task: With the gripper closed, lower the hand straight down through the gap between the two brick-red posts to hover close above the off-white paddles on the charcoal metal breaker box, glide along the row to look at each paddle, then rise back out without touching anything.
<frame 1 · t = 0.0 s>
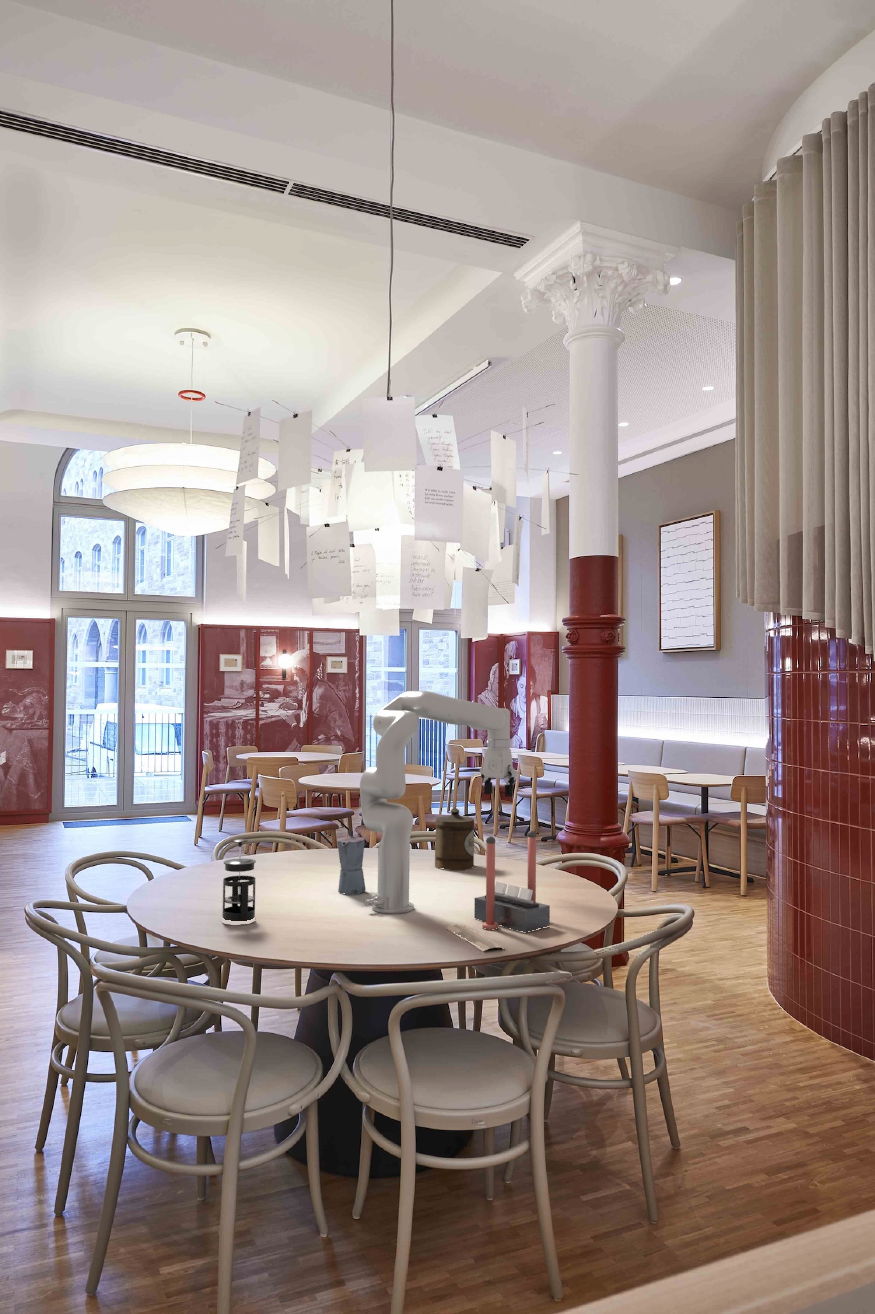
hand: (498, 795, 290), 31 cm above the table, tool pointing down, fingers open, 9 cm apart
wooden container: (454, 867, 325), on the table
breaker box: (511, 922, 244), on the table
far post: (531, 918, 249), on the table
beige flat board: (472, 943, 227), on the table
moka pot: (351, 892, 282), on the table
breaker paddles: (512, 892, 244), point 9 cm above the table, hinge at 20.0°
french press: (239, 922, 242), on the table
near post: (490, 928, 238), on the table
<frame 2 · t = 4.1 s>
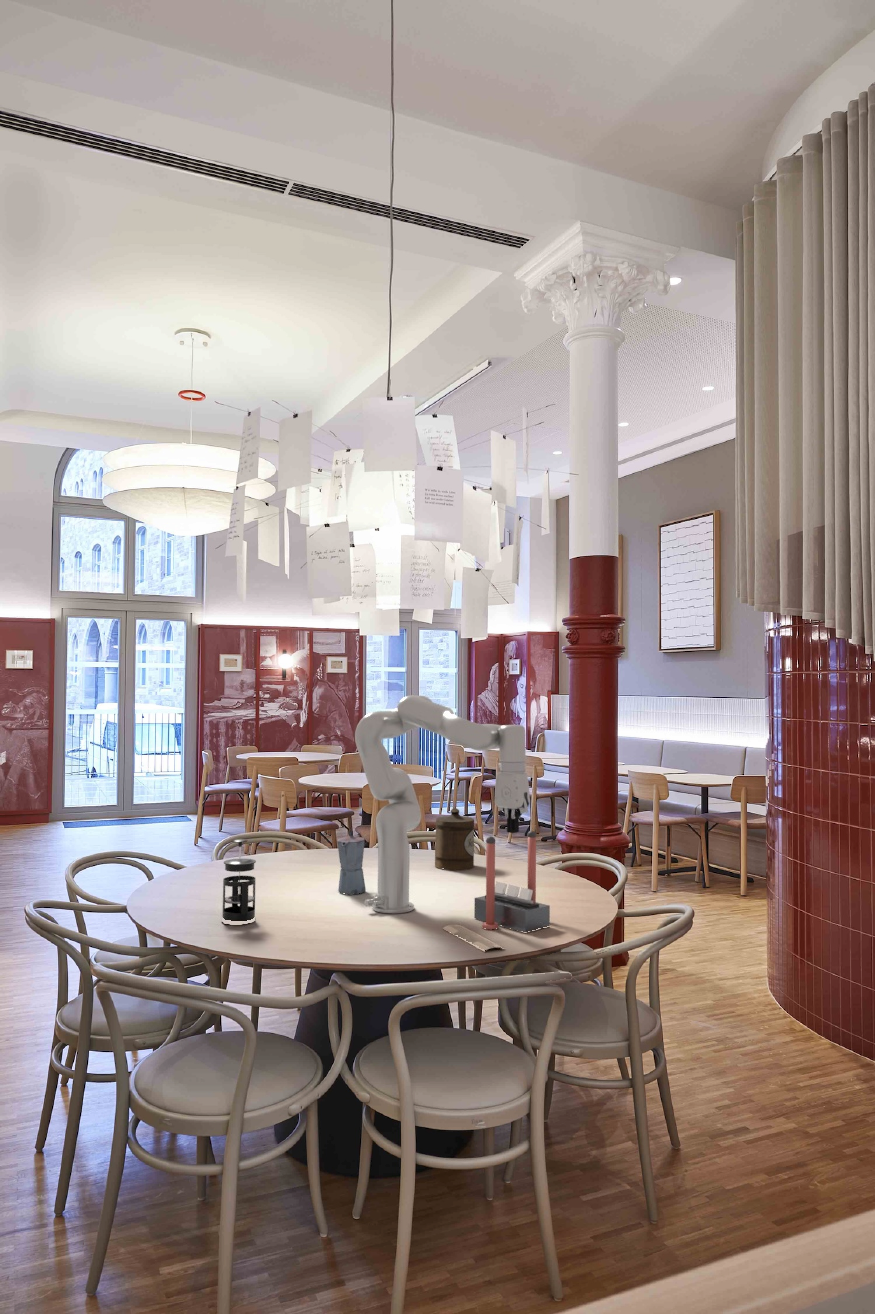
hand: (513, 832, 245), 26 cm above the table, tool pointing down, fingers closed
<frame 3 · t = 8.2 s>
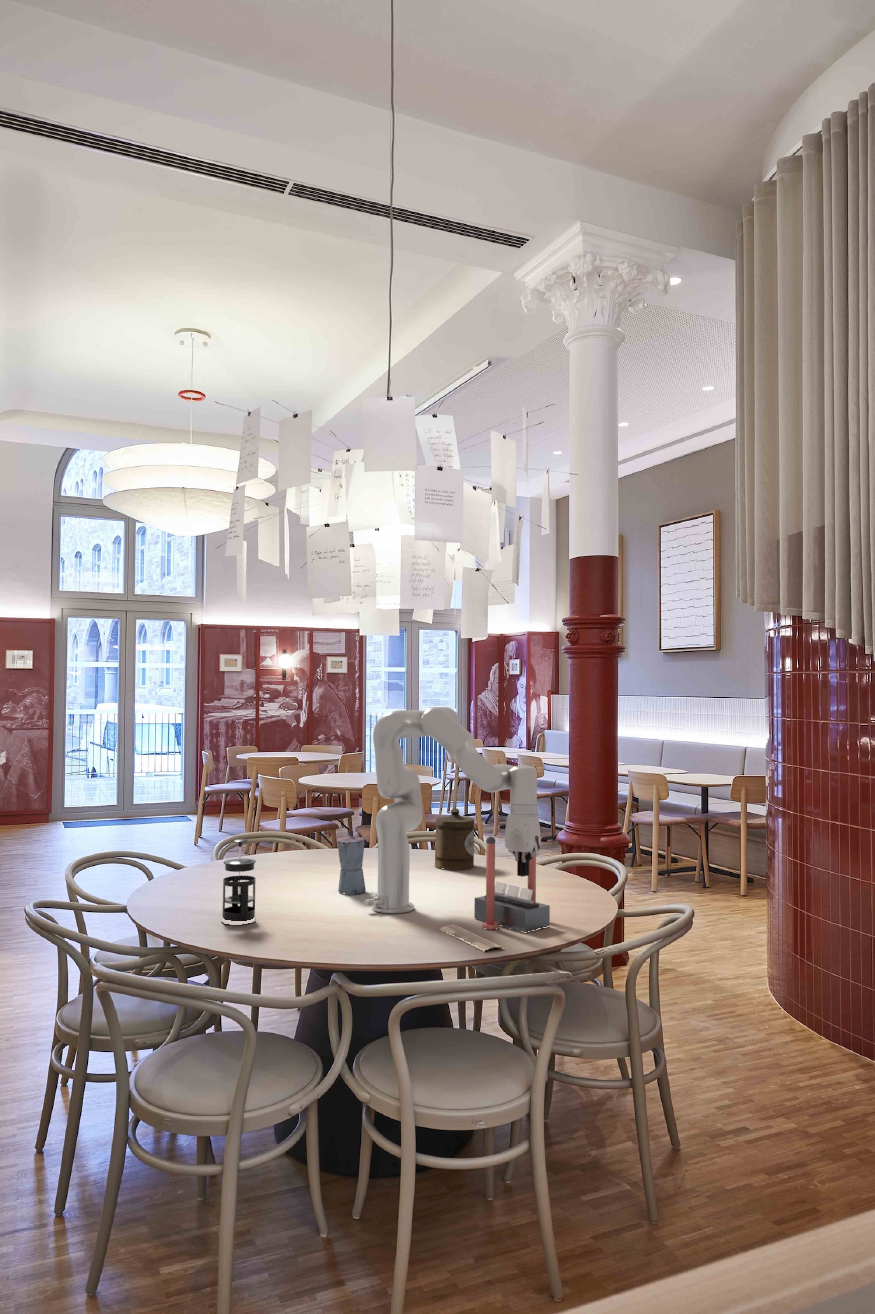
hand: (523, 875, 241), 14 cm above the table, tool pointing down, fingers closed
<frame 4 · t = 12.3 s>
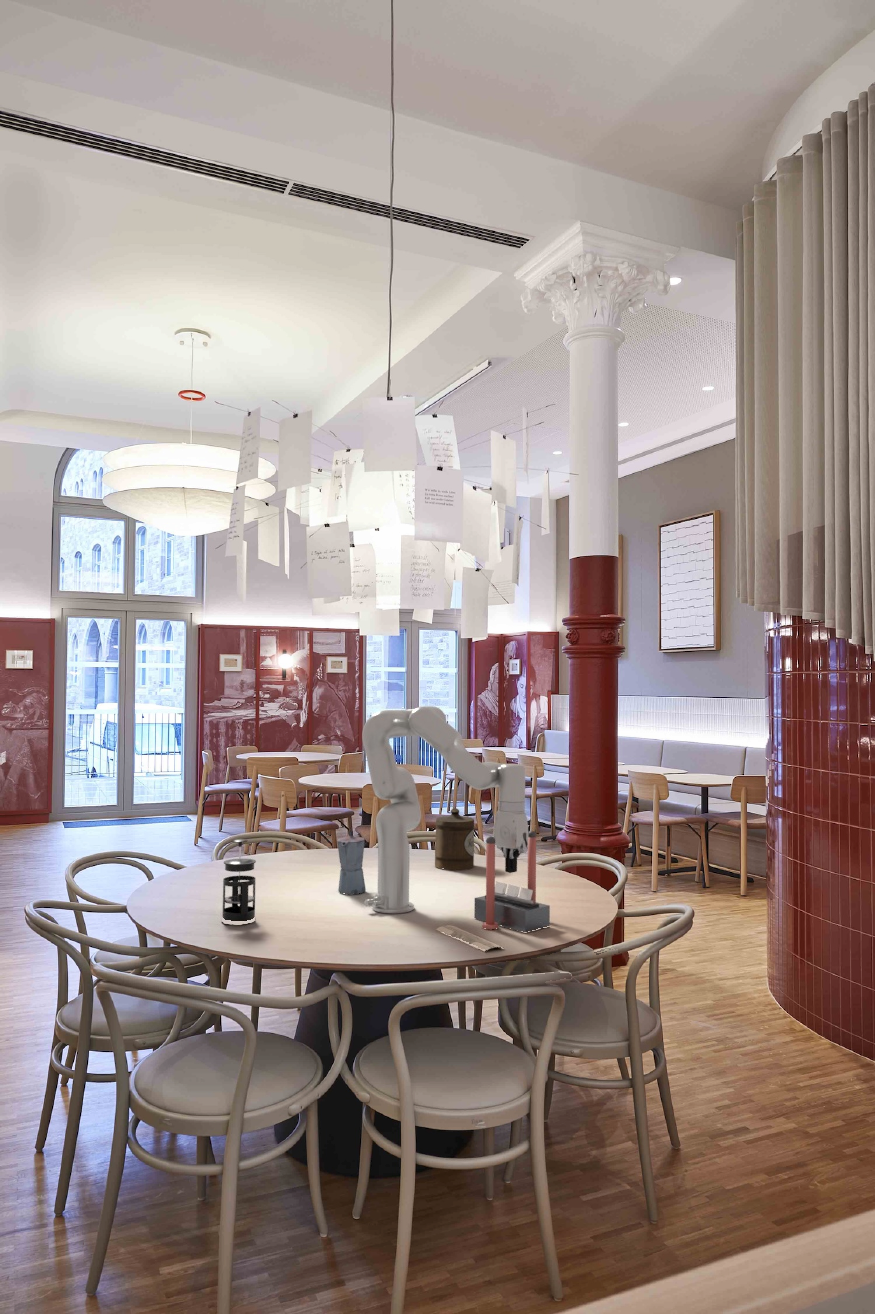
hand: (511, 871, 245), 14 cm above the table, tool pointing down, fingers closed
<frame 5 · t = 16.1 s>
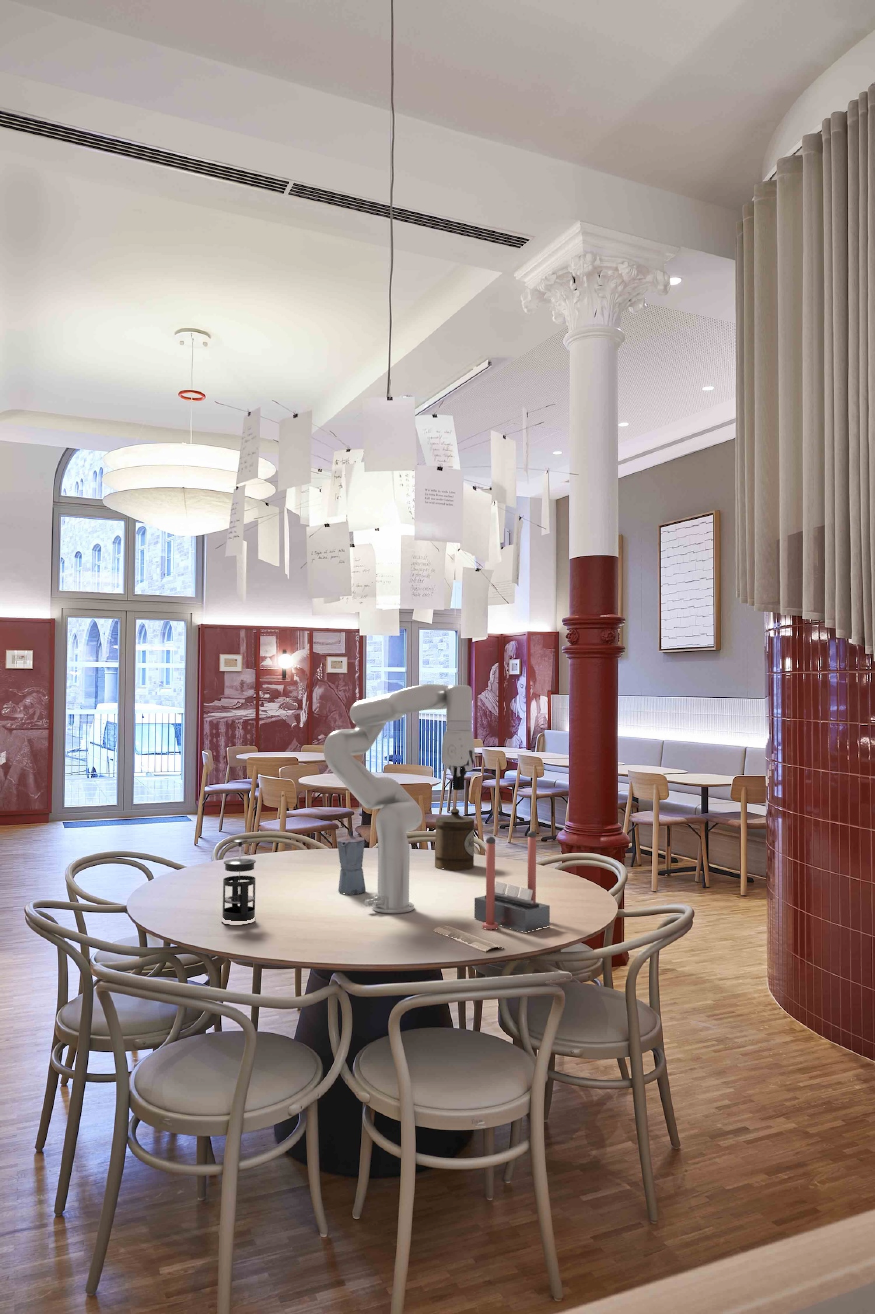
hand: (458, 789, 251), 37 cm above the table, tool pointing down, fingers closed
at the end: near post moved 0.0 cm from its start; far post moved 0.0 cm from its start; breaker paddles at +20° (first picture: +20°) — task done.
